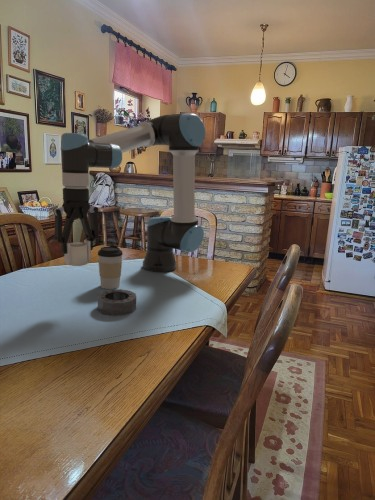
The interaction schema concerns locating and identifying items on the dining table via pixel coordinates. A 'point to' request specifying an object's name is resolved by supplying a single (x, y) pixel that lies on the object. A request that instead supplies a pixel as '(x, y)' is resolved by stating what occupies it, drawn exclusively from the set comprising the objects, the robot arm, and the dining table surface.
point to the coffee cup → (110, 266)
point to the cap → (78, 254)
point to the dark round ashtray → (116, 302)
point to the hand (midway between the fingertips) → (77, 261)
